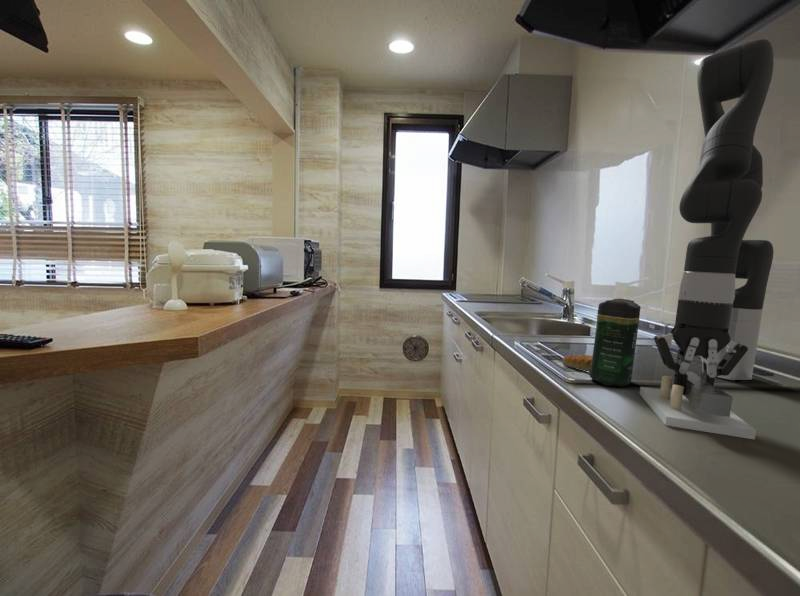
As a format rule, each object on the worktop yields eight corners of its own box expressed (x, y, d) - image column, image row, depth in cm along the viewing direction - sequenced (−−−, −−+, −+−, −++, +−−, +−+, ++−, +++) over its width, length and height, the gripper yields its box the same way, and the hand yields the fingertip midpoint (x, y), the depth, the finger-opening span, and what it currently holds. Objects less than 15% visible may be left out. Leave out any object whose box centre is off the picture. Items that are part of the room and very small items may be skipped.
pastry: (557, 366, 98) (559, 351, 97) (568, 362, 102) (569, 348, 102) (597, 376, 91) (599, 360, 91) (606, 371, 96) (608, 356, 96)
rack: (639, 393, 79) (642, 367, 79) (709, 403, 76) (713, 376, 75) (665, 425, 64) (669, 393, 63) (754, 439, 60) (760, 405, 60)
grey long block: (669, 385, 75) (671, 369, 74) (693, 388, 74) (696, 372, 73) (698, 412, 62) (701, 392, 61) (729, 416, 60) (732, 396, 60)
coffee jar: (626, 390, 81) (637, 302, 79) (585, 381, 86) (594, 297, 84) (634, 380, 88) (644, 299, 86) (597, 372, 93) (605, 295, 91)
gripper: (743, 300, 69) (728, 394, 71) (652, 293, 73) (641, 382, 75) (767, 304, 62) (750, 409, 64) (665, 297, 66) (652, 395, 68)
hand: (691, 394), depth 69 cm, fingers closed on grey long block, 2 cm apart
